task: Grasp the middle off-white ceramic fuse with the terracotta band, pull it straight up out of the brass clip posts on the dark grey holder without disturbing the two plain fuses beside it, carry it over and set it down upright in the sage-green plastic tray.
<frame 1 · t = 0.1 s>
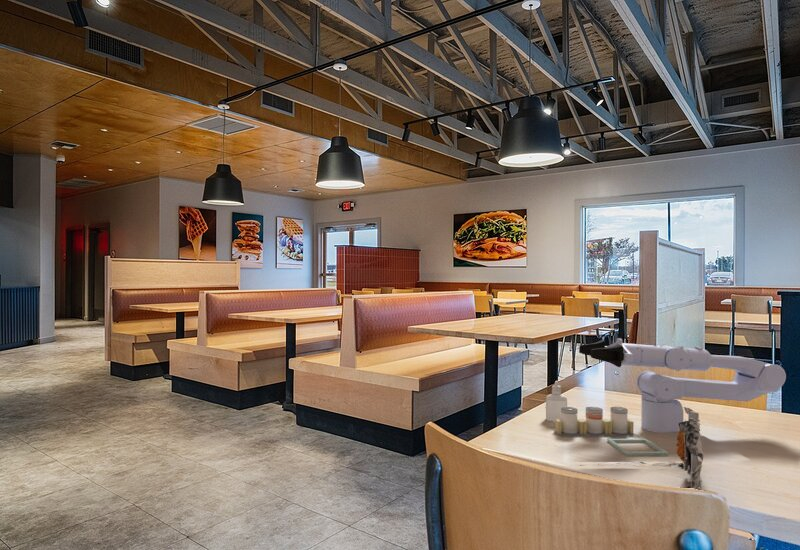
hand: (585, 351, 131), 22 cm above the table, tool horizontal, fingers open, 7 cm apart
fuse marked: (594, 432, 128), point 1 cm above the table, touching fuse holder
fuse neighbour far: (569, 432, 128), point 1 cm above the table, touching fuse holder
tray: (636, 453, 116), on the table
eye dropper bottle: (556, 424, 139), on the table
meal: (688, 480, 101), on the table
fuse holder: (594, 436, 128), on the table
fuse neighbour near: (618, 431, 128), point 1 cm above the table, touching fuse holder
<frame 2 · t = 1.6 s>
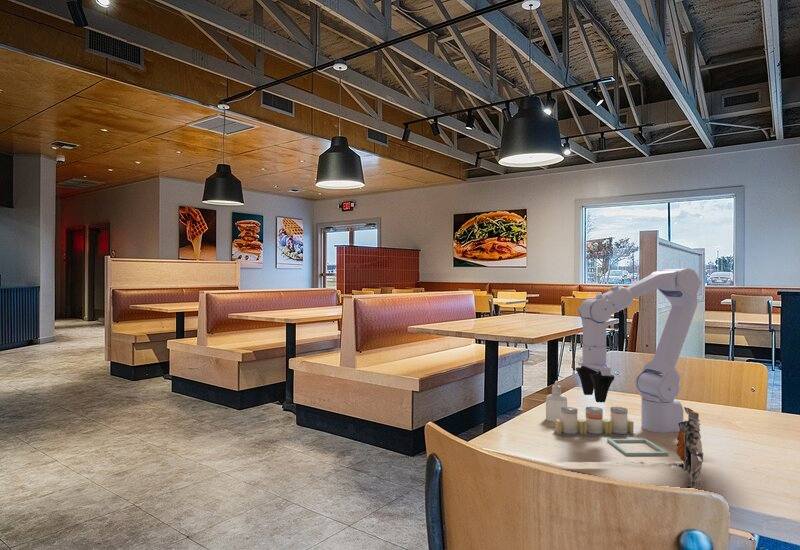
hand: (594, 398, 128), 10 cm above the table, tool pointing down, fingers open, 7 cm apart
nothing on the table moved.
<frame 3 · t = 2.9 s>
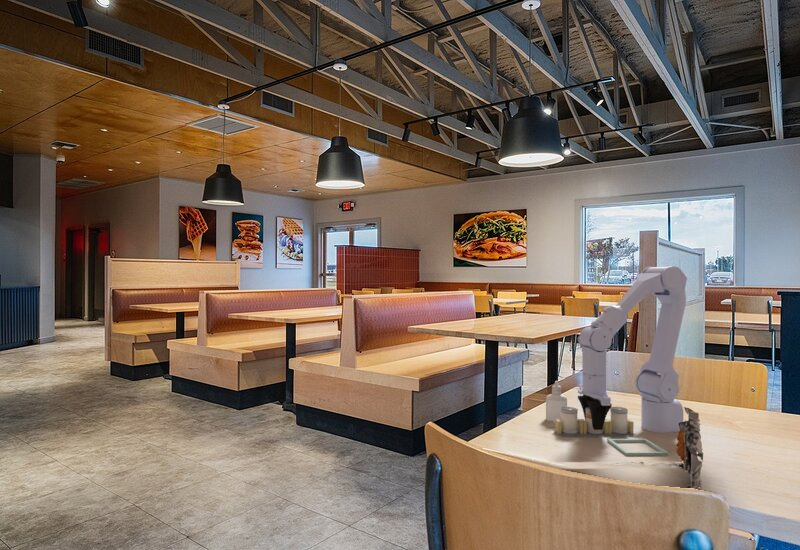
hand: (594, 426, 128), 3 cm above the table, tool pointing down, fingers closed on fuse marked, 4 cm apart
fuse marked: (594, 432, 128), point 1 cm above the table, touching fuse holder, gripper
everything else where it was.
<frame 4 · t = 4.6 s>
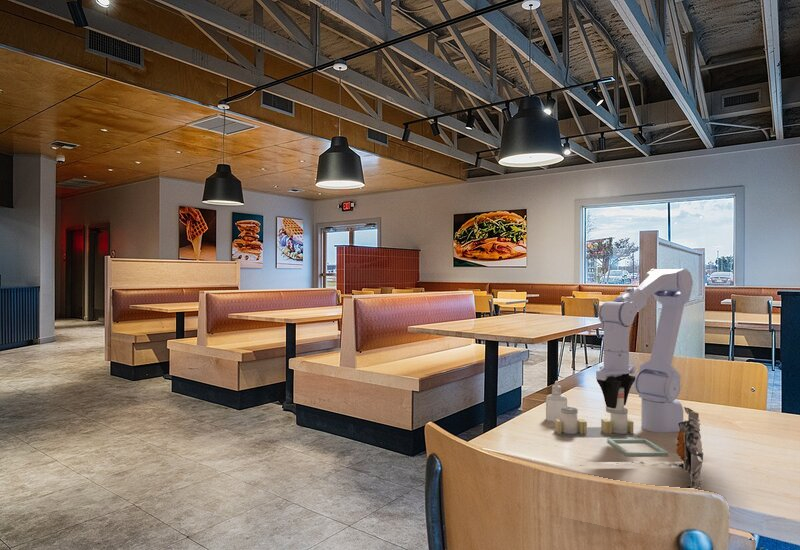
hand: (615, 406, 121), 10 cm above the table, tool pointing down, fingers closed on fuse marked, 4 cm apart
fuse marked: (615, 411, 122), point 8 cm above the table, touching gripper
everything else where it was.
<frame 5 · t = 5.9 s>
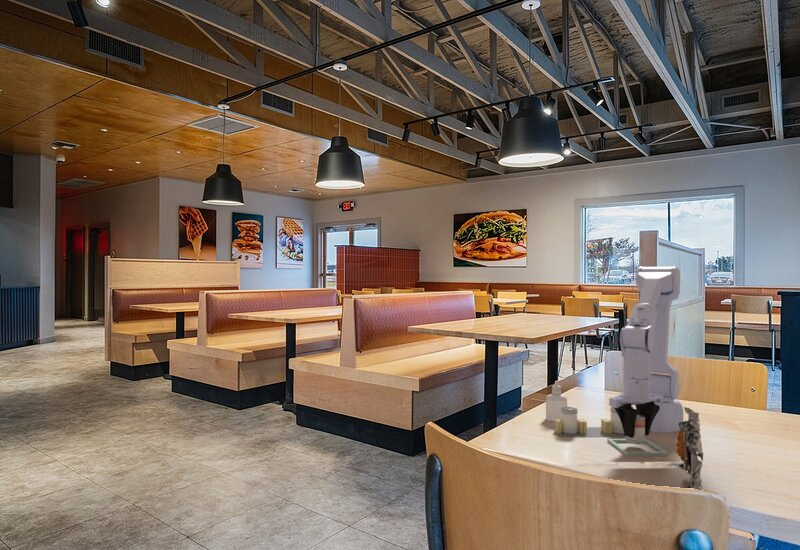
hand: (636, 435, 116), 4 cm above the table, tool pointing down, fingers closed on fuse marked, 4 cm apart
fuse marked: (635, 441, 116), point 3 cm above the table, touching gripper
everything else where it was.
when the fingers open (3 cm above the table, at t = 6.6 s): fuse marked stays where it is, resting on tray.
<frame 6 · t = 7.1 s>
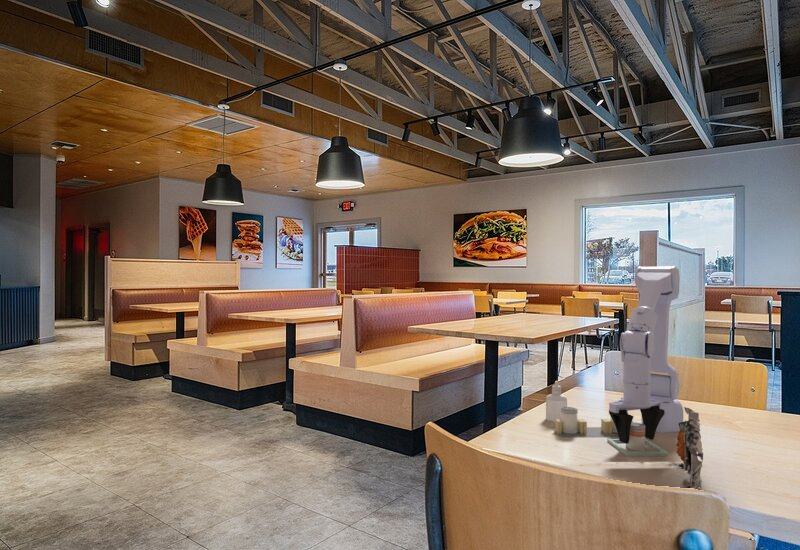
hand: (636, 440, 116), 3 cm above the table, tool pointing down, fingers open, 7 cm apart
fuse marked: (635, 450, 116), point 1 cm above the table, touching tray
everything else where it was.
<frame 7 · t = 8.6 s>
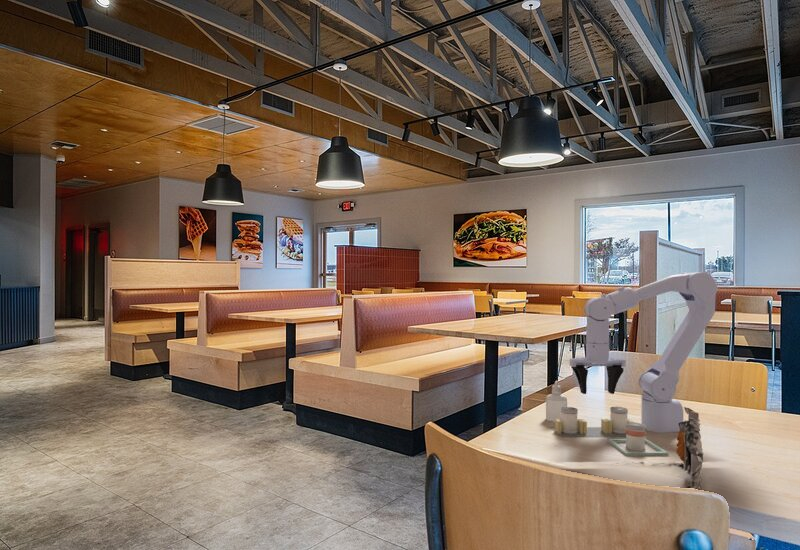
hand: (597, 393, 133), 10 cm above the table, tool pointing down, fingers open, 7 cm apart
nothing on the table moved.
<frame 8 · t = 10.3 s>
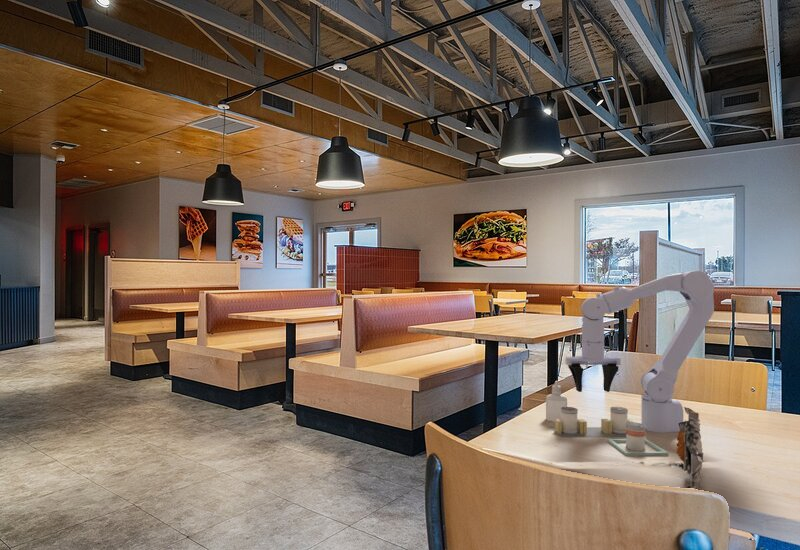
hand: (592, 391, 136), 10 cm above the table, tool pointing down, fingers open, 7 cm apart
nothing on the table moved.
at the end: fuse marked inside the target area on the tray (0.3 cm from its centre), point 0.6 cm above the tray's base; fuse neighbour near moved 0.0 cm from its start; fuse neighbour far moved 0.0 cm from its start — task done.
